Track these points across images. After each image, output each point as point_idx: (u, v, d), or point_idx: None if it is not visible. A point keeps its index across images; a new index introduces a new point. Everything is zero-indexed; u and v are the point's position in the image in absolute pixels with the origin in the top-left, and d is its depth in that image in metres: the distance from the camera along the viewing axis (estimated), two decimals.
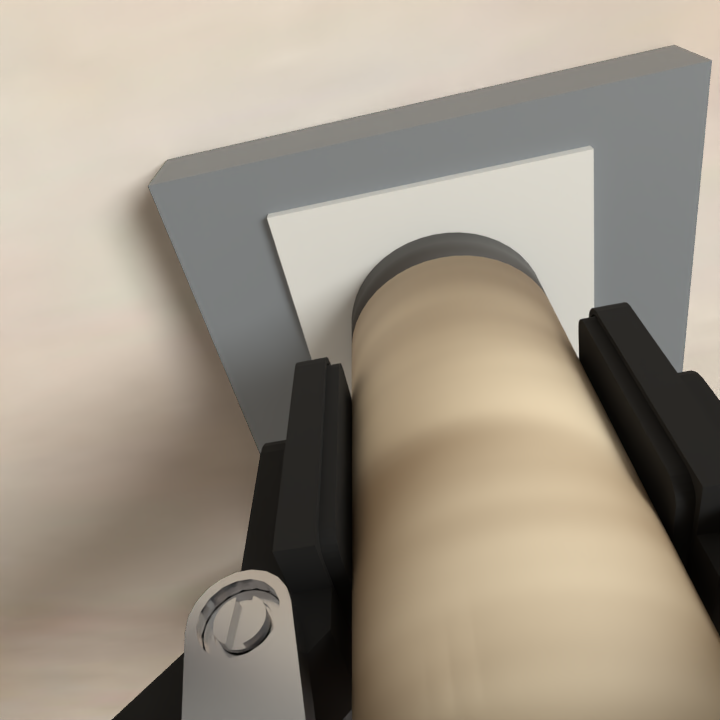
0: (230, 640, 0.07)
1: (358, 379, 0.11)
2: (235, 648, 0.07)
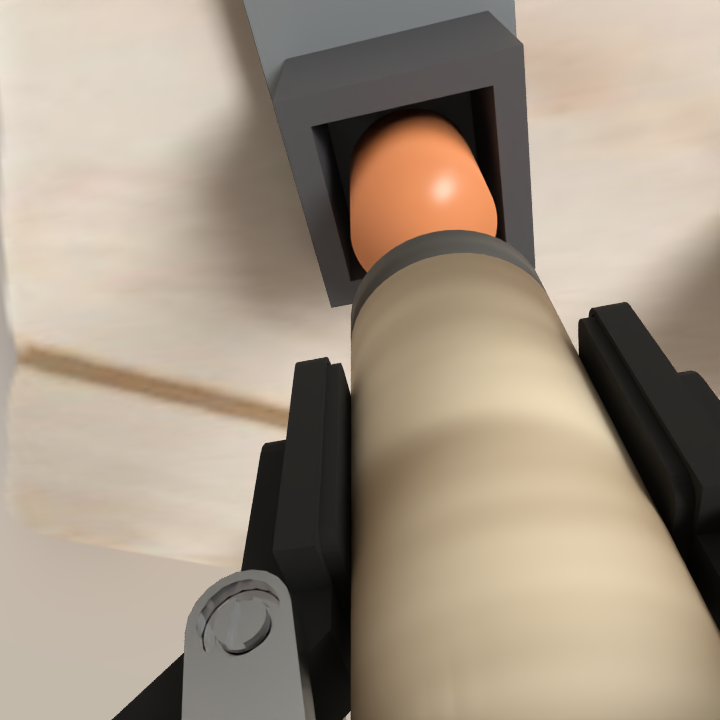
0: (230, 640, 0.07)
1: (357, 377, 0.10)
2: (235, 648, 0.07)
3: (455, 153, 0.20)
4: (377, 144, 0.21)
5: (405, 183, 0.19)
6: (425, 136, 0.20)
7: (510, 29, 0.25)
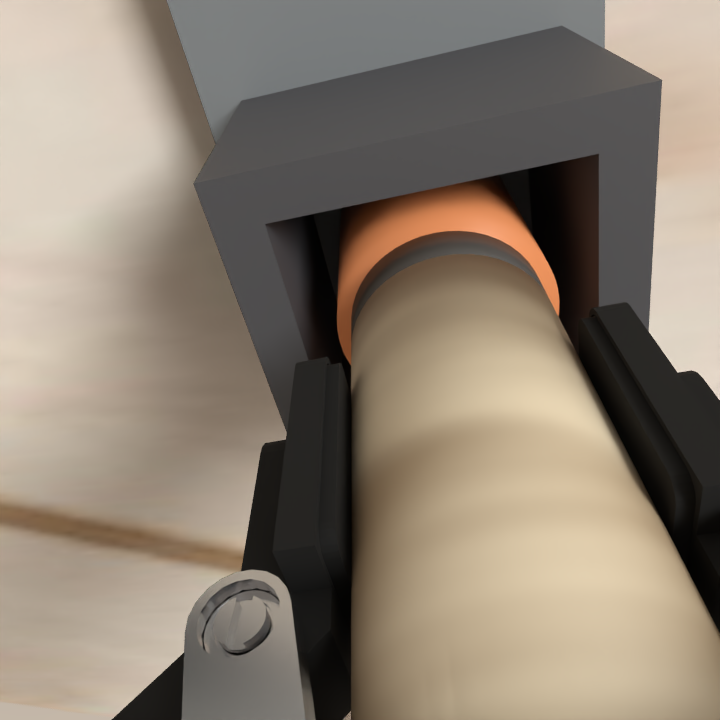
0: (230, 640, 0.07)
1: (358, 378, 0.10)
2: (235, 648, 0.07)
3: (496, 207, 0.13)
4: None
5: None
6: None
7: None
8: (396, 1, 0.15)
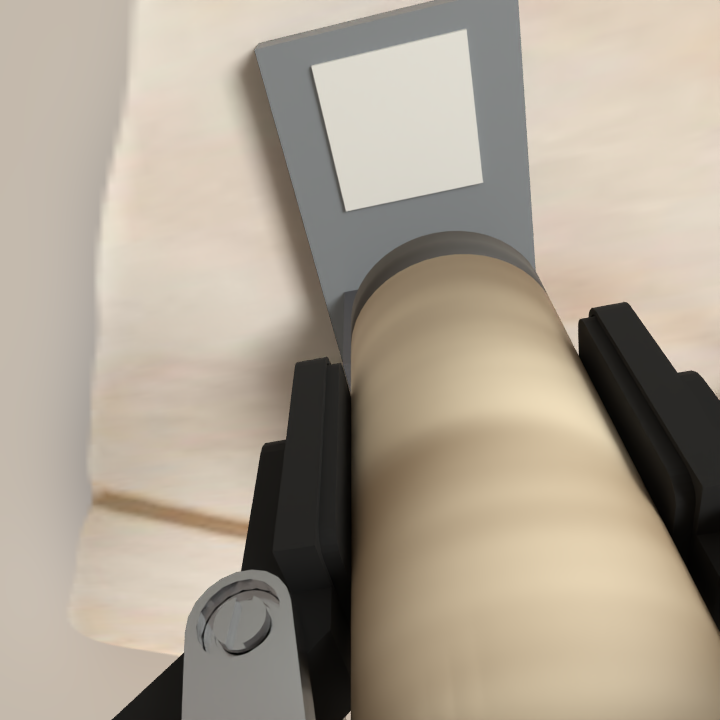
0: (230, 640, 0.07)
1: (357, 378, 0.10)
2: (235, 648, 0.07)
3: None
4: None
5: None
6: None
7: None
8: None
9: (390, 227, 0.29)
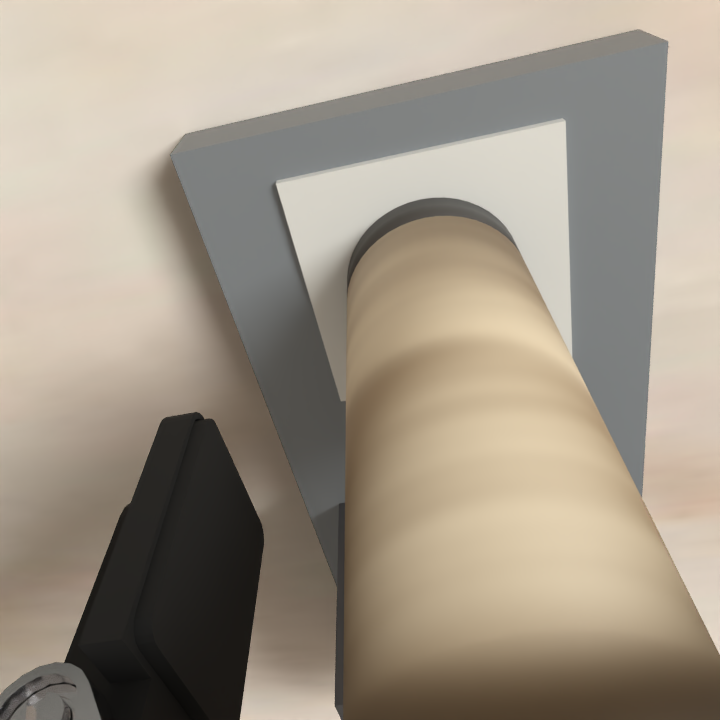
0: None
1: (352, 321, 0.12)
2: None
3: None
4: None
5: None
6: None
7: (635, 477, 0.19)
8: None
9: None
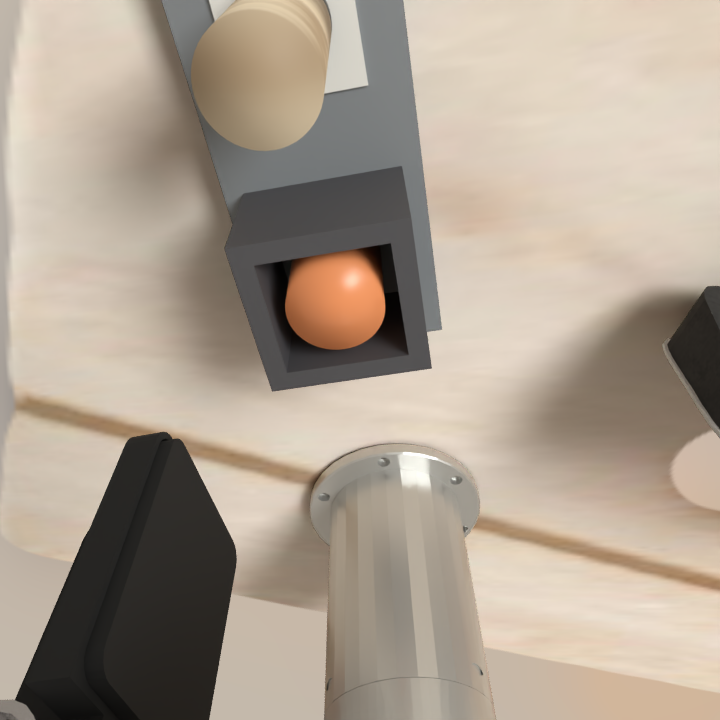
0: None
1: None
2: None
3: (357, 258, 0.29)
4: None
5: (321, 279, 0.28)
6: None
7: (419, 179, 0.32)
8: (320, 152, 0.31)
9: None
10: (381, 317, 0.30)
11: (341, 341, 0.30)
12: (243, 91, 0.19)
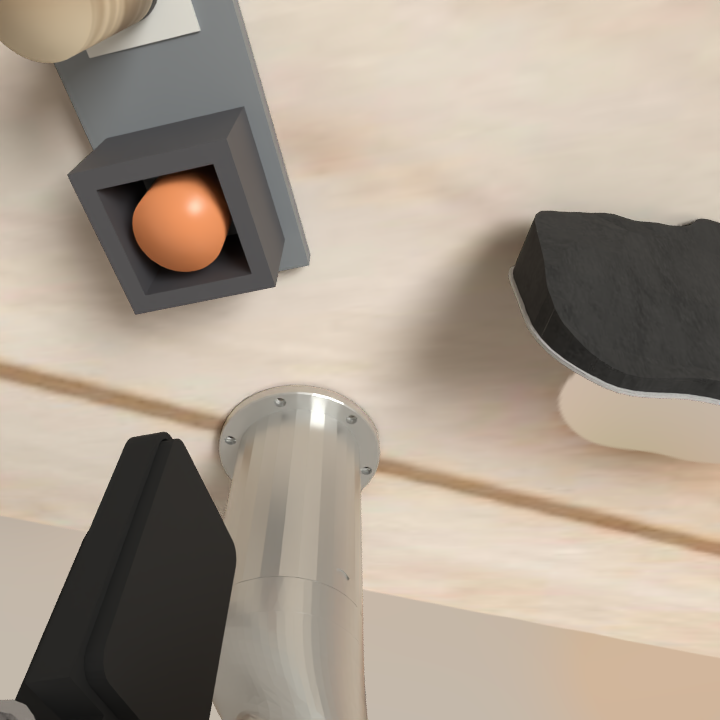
0: None
1: None
2: None
3: (194, 184, 0.32)
4: (157, 178, 0.34)
5: (160, 202, 0.32)
6: (181, 174, 0.33)
7: (262, 118, 0.35)
8: (168, 96, 0.34)
9: (132, 74, 0.34)
10: (221, 238, 0.33)
11: (190, 263, 0.34)
12: (22, 8, 0.23)
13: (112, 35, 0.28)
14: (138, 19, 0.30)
